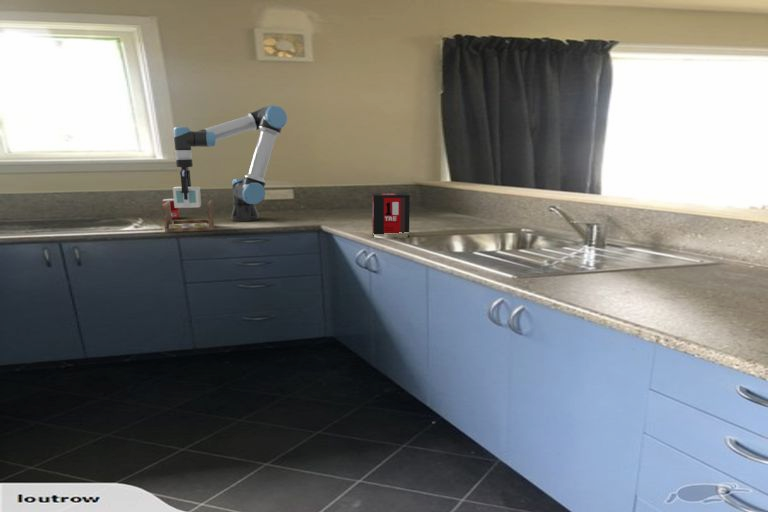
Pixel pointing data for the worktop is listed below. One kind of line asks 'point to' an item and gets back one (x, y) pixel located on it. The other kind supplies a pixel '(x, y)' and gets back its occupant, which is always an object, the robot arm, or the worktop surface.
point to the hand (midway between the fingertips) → (188, 204)
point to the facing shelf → (187, 224)
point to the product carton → (193, 197)
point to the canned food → (172, 208)
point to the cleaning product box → (390, 212)
